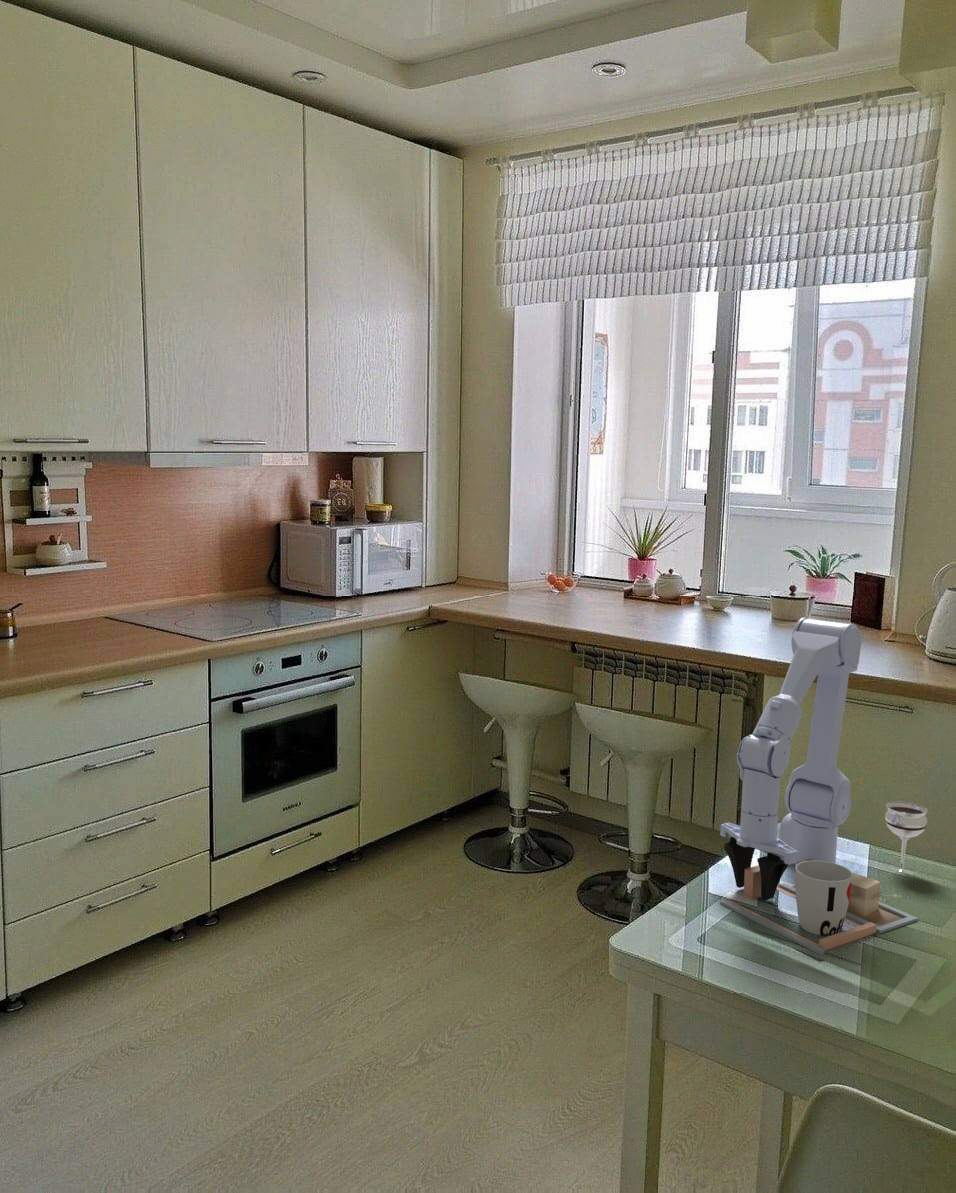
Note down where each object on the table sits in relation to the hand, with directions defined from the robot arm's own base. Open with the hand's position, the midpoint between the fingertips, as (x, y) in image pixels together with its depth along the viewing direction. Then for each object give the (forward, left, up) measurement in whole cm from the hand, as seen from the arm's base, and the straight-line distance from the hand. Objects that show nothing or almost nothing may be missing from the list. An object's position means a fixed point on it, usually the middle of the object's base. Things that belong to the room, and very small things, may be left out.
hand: (754, 892), depth 166 cm
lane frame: (+9, +4, -2) cm, 10 cm away
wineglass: (+4, +31, -2) cm, 32 cm away
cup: (+13, 0, -2) cm, 13 cm away
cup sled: (+8, 0, -2) cm, 9 cm away
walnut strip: (+9, +11, -2) cm, 14 cm away
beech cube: (+12, +11, 0) cm, 16 cm away
